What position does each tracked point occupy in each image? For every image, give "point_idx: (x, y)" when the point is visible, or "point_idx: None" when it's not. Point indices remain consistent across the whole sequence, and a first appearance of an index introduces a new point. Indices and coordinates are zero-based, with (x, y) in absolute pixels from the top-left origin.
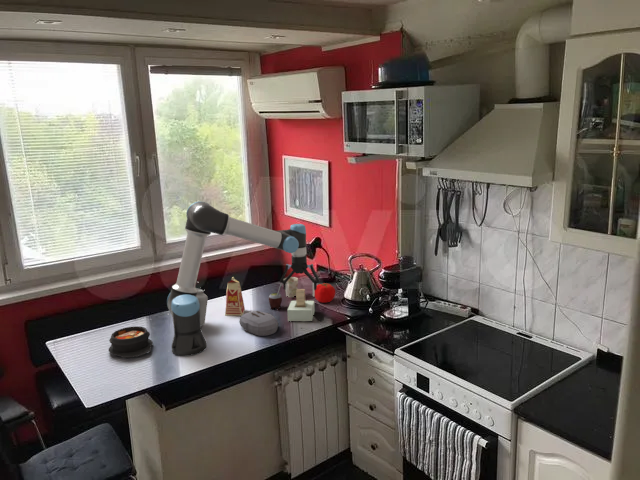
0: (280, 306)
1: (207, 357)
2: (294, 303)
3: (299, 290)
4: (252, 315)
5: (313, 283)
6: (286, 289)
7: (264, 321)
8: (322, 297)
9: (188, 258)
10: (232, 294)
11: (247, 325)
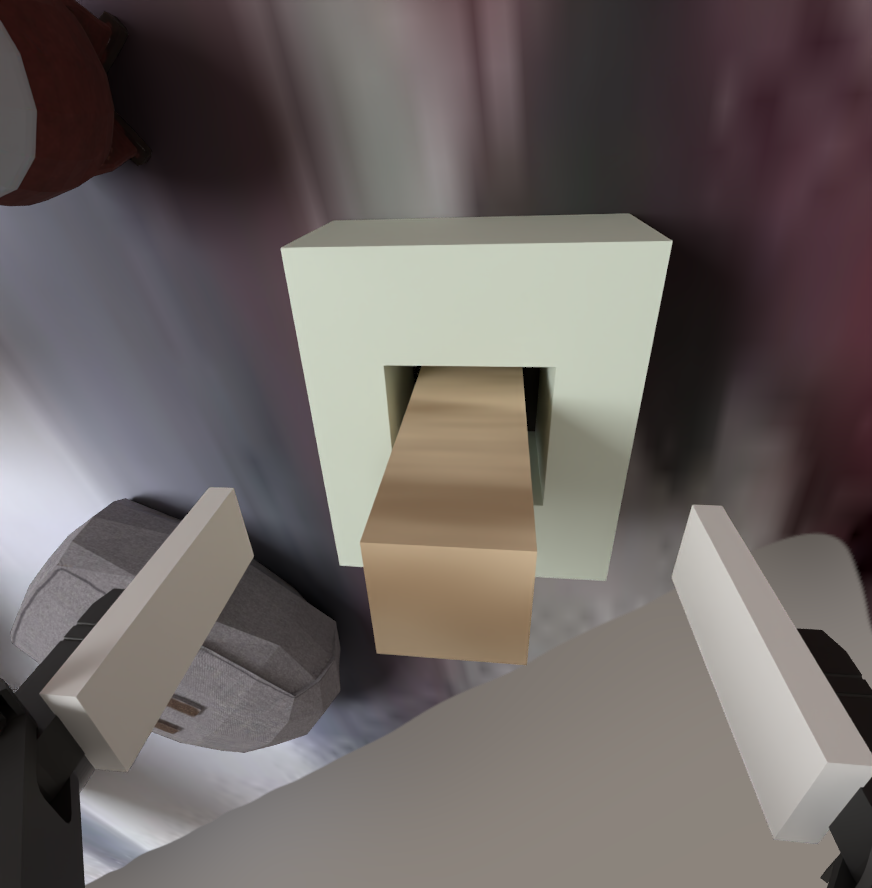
0: (115, 39)
1: (150, 792)
2: (363, 373)
3: (430, 613)
4: None
5: (826, 805)
6: (183, 655)
7: (249, 748)
8: None
9: None
10: None
11: None
